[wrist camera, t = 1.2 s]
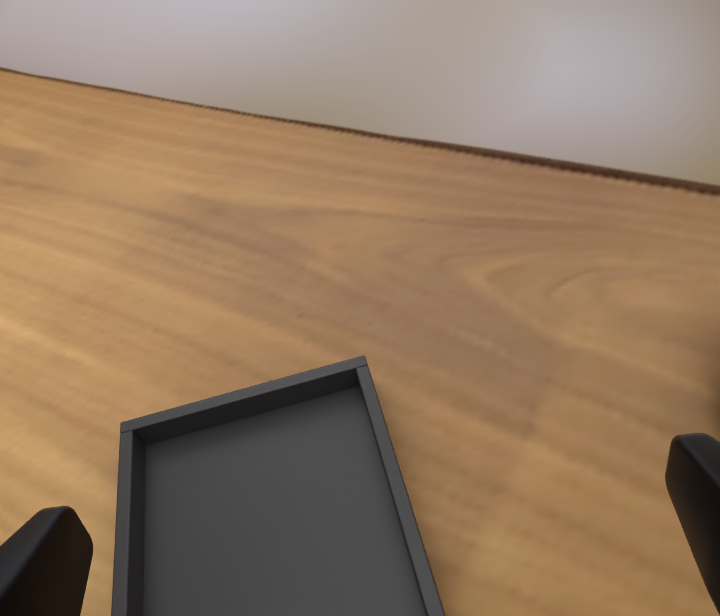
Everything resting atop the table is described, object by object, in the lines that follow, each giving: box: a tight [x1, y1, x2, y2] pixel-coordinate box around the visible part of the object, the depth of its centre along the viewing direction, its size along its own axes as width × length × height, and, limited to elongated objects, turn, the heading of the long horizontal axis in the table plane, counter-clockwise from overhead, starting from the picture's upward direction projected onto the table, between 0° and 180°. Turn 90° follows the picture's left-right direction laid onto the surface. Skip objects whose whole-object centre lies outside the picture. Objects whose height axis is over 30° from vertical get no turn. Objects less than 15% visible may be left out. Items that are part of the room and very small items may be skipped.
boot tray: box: [111, 356, 445, 616], centre depth 23 cm, size 16×12×2 cm
